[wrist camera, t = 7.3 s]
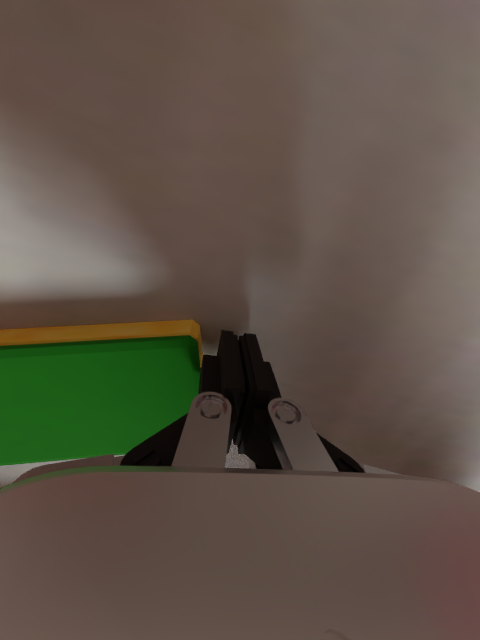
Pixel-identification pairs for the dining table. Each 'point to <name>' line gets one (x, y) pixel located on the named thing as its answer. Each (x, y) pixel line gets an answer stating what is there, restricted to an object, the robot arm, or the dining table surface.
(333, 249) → the dining table surface
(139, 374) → the dish sponge
